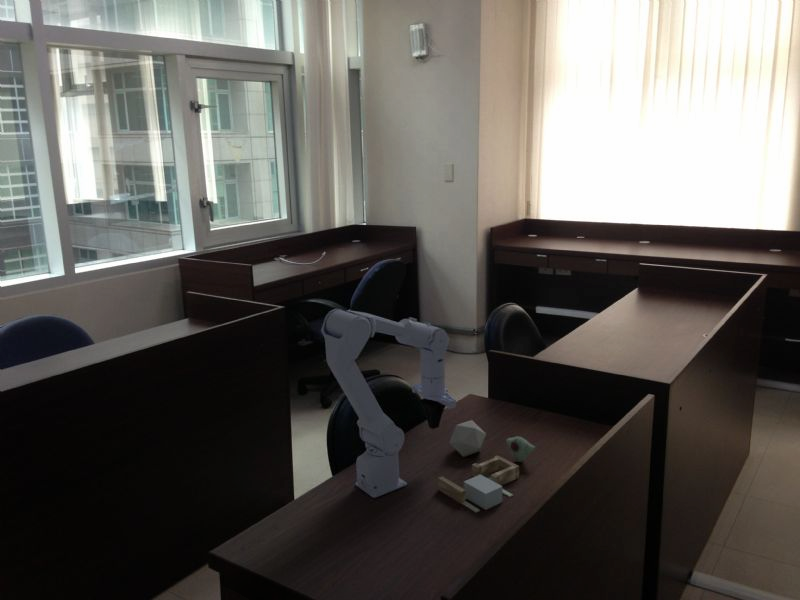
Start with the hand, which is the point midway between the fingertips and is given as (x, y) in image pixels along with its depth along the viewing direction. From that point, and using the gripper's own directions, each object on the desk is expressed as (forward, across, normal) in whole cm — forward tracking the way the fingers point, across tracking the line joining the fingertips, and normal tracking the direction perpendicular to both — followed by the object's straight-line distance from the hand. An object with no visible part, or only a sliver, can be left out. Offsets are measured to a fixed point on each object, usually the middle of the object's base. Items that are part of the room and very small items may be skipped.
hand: (434, 427), depth 167 cm
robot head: (+10, -13, -16) cm, 23 cm away
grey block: (+10, -20, +3) cm, 23 cm away
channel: (+9, -15, -1) cm, 18 cm away
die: (+10, -1, -10) cm, 14 cm away
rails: (+9, -21, +2) cm, 23 cm away
